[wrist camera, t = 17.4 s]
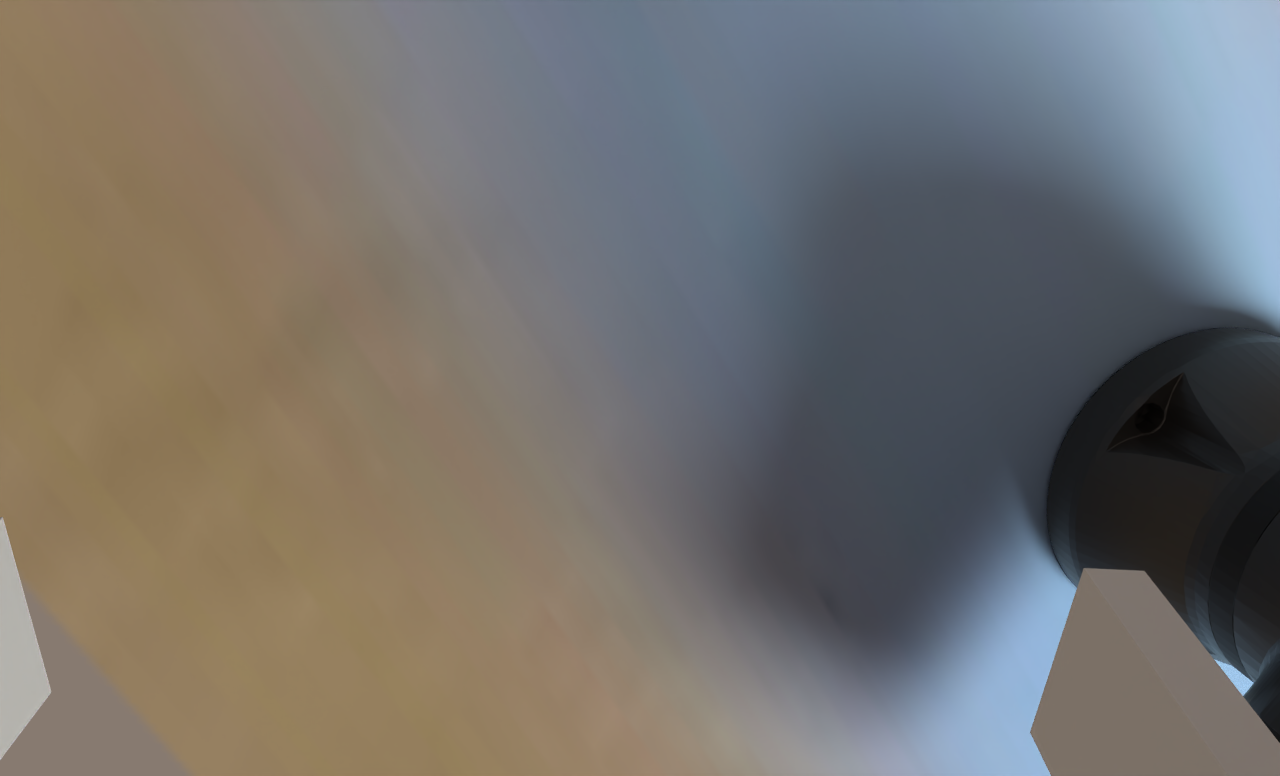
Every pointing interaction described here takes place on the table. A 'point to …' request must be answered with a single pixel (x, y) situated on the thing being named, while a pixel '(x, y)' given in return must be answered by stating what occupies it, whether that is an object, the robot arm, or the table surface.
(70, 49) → the table surface
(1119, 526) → the robot arm
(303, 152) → the table surface
